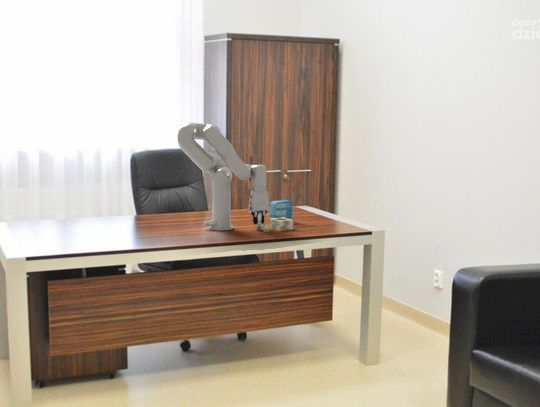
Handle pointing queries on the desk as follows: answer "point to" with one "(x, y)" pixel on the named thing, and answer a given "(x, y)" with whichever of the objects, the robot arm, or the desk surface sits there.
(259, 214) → the tall pin
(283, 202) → the data package
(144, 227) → the desk surface
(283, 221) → the pin block
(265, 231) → the short pin
